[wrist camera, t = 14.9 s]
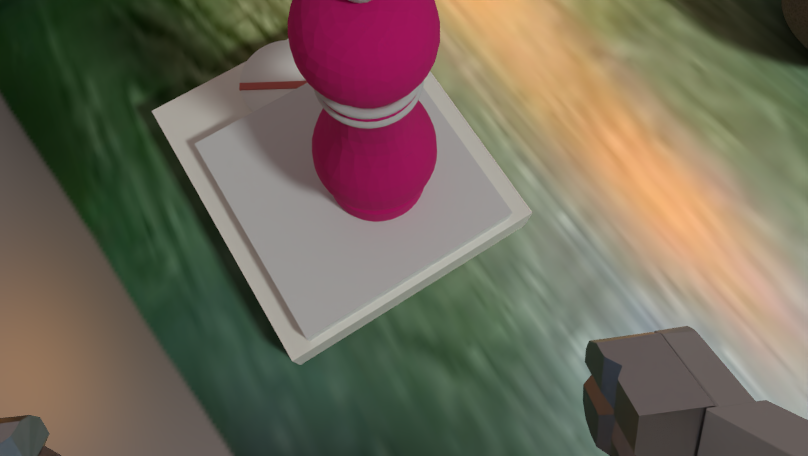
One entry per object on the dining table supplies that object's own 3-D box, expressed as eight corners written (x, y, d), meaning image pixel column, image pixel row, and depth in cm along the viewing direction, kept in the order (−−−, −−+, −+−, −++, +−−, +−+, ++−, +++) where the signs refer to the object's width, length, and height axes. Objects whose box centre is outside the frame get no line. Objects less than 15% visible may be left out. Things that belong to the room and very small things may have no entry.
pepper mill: (430, 233, 38) (464, 60, 19) (316, 226, 38) (234, 47, 19) (435, 128, 40) (469, -124, 21) (326, 122, 40) (261, -135, 21)
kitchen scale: (524, 226, 43) (536, 206, 39) (300, 364, 40) (288, 359, 36) (374, 17, 48) (372, -20, 44) (166, 128, 45) (143, 100, 41)
